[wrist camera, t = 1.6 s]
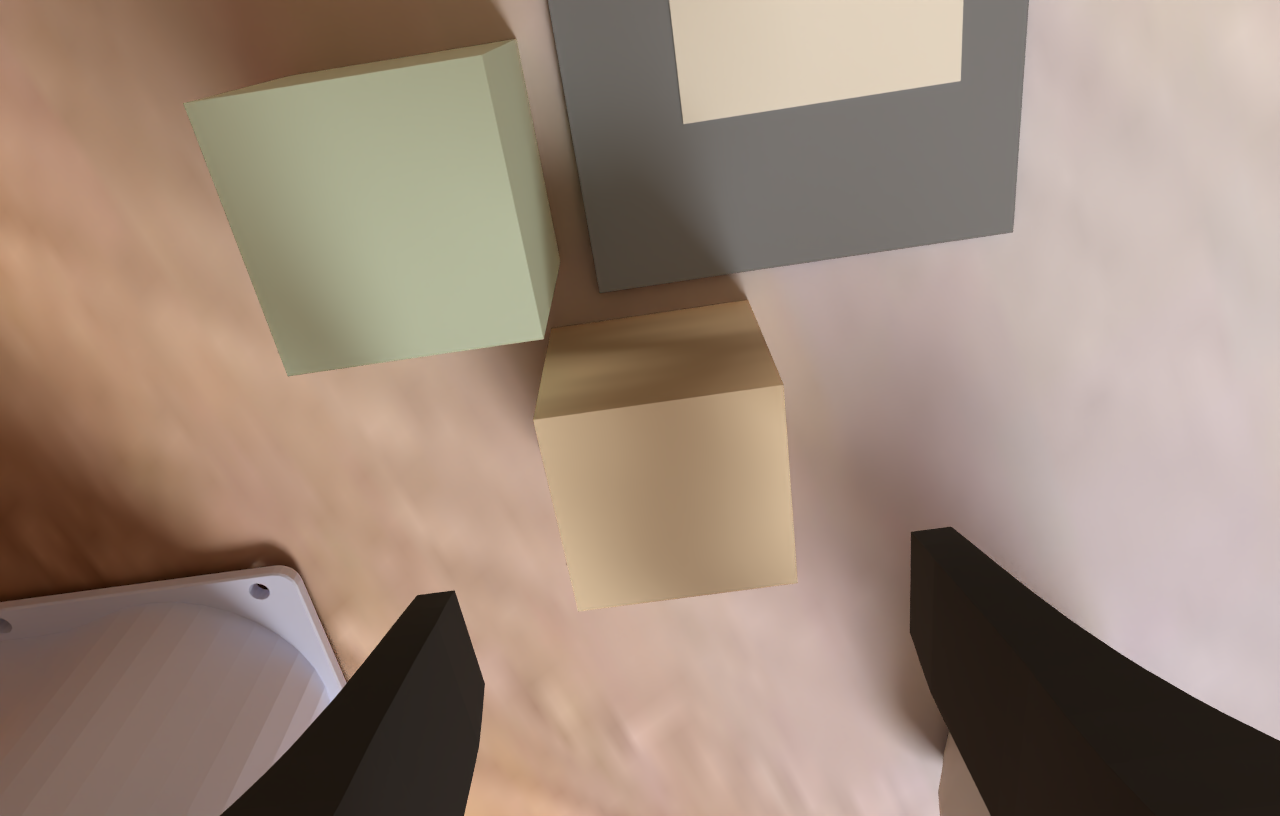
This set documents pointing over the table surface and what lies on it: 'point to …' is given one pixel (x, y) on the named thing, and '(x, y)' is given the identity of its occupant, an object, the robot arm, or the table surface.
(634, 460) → the beech block
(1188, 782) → the robot arm
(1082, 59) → the table surface
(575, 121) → the slate mat
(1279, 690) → the table surface
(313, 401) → the table surface
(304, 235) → the sage block
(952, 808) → the salt shaker
